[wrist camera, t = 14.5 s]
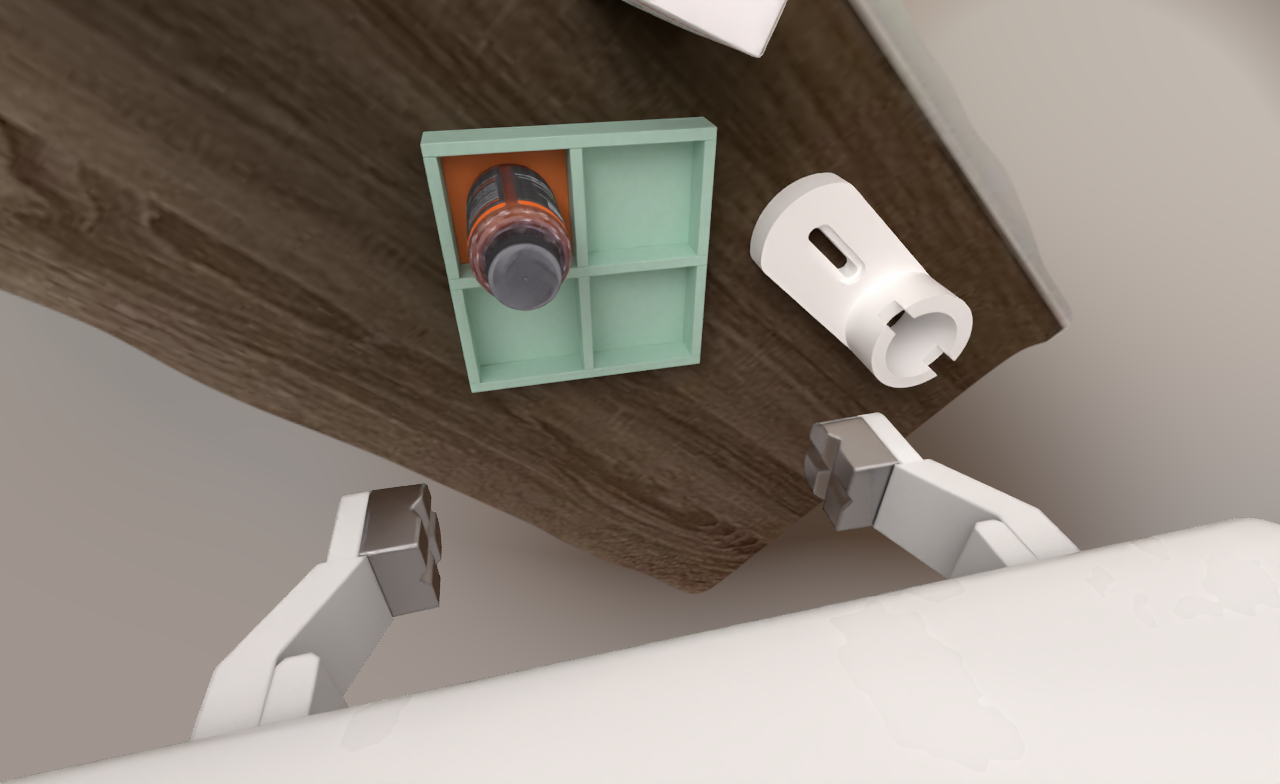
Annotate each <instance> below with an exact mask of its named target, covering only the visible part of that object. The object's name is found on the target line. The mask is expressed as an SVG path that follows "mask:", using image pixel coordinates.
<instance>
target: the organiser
mask: <svg viewBox="0 0 1280 784" xmlns="http://www.w3.org/2000/svg"><path fill="white" fill-rule="evenodd" d="M716 136H717V127H716V126H715V125H713V124H712V123H711V122H709V121H708V120H707V119H706V118H704V117H690V118H671V119H653V120H634V121H615V122H596V123H578V124H559V125H540V126H521V127H503V128H484V129H465V130H446V131H428V132H423V135H422V139H421V143H420V146H421V151H422V156H423V161H424V166H425V170H426V175H427V180H428V185H429V190H430V194H431V199H432V204H433V209H434V214H435V219H436V223H437V228H438V233H439V238H440V243H441V247H442V252H443V257H444V262H445V267H446V272H447V276H448V281H449V286H450V290H451V296H452V301H453V305H454V310H455V315H456V320H457V325H458V330H459V334H460V339H461V344H462V349H463V354H464V358H465V363H466V368H467V373H468V378H469V383H470V387H471V392H472V393H474V392H482V391H490V390H498V389H505V388H513V387H521V386H529V385H536V384H544V383H552V382H559V381H567V380H575V379H583V378H590V377H598V376H606V375H614V374H621V373H629V372H637V371H645V370H652V369H660V368H668V367H675V366H683V365H691V364H699V363H700V352H701V339H702V325H703V311H704V298H705V284H706V271H707V257H708V246H709V232H710V219H711V205H712V192H713V178H714V165H715V151H716ZM500 164H519V165H523V166H526V167H528V168H530V169H532V170H534V171H535V172H536V173H538V174H539V175H540V176H541V177H542V178H543V179H544V180H545V181H546V182H547V184H548V185H549V187H550V189H551V191H552V192H553V195H554V197H555V200H556V203H557V206H558V208H559V211H560V214H561V217H562V219H563V222H564V225H565V228H566V230H567V234H568V237H569V240H570V244H571V251H572V258H571V259H572V260H571V266H570V268H569V272H568V274H567V277H566V278H565V280H564V281H563V283H562V284H561V286H560V289H559V291H558V293H557V294H556V296H555V297H554V298H553V299H552V301H551V302H549V303H548V304H546V305H545V306H543V307H541V308H537V309H534V310H529V311H521V310H515V309H512V308H509V307H507V306H505V305H503V304H502V303H501V302H499V301H498V300H497V299H496V298H495V297H494V296H493V295H491V294H490V293H488V292H487V291H486V290H485V289H484V288H483V287H482V286H481V285H480V284H479V282H478V281H477V280H476V278H475V277H474V275H473V273H472V270H471V267H470V264H469V259H468V243H467V217H466V202H467V196H468V193H469V189H470V187H471V185H472V184H473V182H474V181H475V179H476V178H477V177H478V176H479V175H480V174H481V173H482V172H484V171H485V170H487V169H489V168H490V167H493V166H496V165H500Z"/></svg>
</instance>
